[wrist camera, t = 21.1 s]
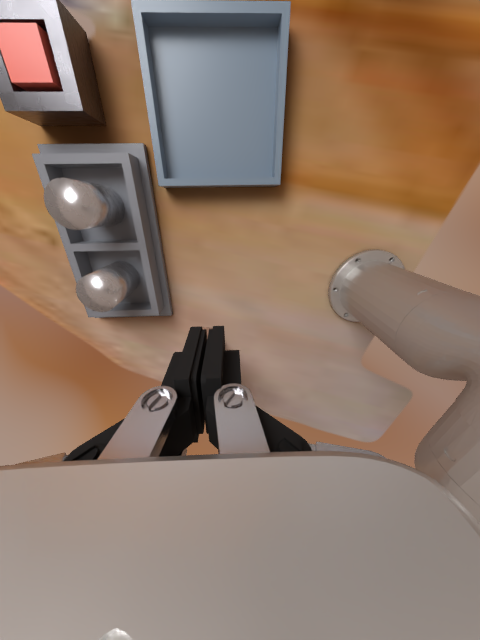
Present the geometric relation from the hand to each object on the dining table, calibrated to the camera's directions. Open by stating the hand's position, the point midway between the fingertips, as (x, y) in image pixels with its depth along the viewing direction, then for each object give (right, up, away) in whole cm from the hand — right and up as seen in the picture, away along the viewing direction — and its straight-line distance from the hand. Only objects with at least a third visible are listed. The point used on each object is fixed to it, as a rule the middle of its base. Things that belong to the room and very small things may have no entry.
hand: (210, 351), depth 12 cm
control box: (-19, +29, +15) cm, 38 cm away
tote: (-1, +27, +17) cm, 32 cm away
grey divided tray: (-17, +13, +23) cm, 32 cm away
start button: (-19, +28, +12) cm, 36 cm away
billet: (-17, +17, +20) cm, 31 cm away
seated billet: (-17, +9, +24) cm, 31 cm away
